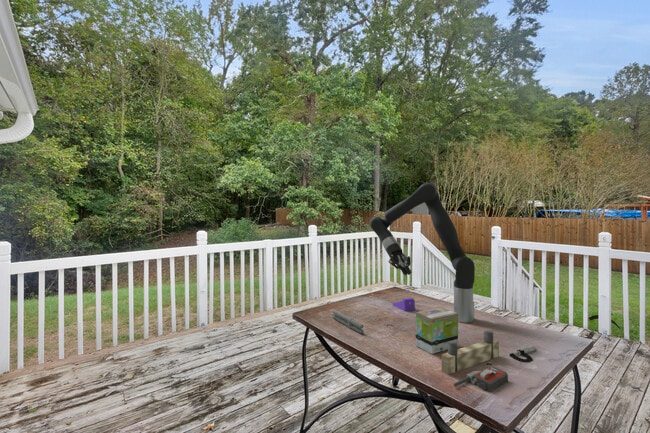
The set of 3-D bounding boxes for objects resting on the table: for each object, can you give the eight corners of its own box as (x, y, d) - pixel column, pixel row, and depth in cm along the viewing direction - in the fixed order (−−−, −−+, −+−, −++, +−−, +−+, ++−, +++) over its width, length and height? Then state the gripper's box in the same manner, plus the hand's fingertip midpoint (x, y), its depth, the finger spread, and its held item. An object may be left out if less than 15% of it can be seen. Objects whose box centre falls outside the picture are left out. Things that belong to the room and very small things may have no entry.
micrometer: (524, 365, 121) (524, 358, 121) (507, 356, 127) (507, 350, 127) (550, 357, 127) (550, 350, 127) (532, 349, 133) (532, 343, 133)
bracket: (414, 310, 186) (414, 298, 186) (404, 311, 183) (404, 299, 183) (402, 304, 197) (402, 293, 197) (392, 305, 194) (392, 294, 194)
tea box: (432, 355, 129) (432, 318, 129) (415, 345, 138) (414, 311, 138) (459, 347, 136) (458, 312, 136) (440, 338, 145) (440, 306, 145)
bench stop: (491, 353, 130) (491, 328, 130) (499, 356, 127) (499, 331, 127) (441, 370, 117) (441, 343, 117) (448, 374, 114) (448, 346, 114)
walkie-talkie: (486, 370, 117) (451, 387, 107) (486, 358, 117) (451, 374, 106) (511, 381, 110) (476, 401, 99) (511, 368, 110) (476, 387, 99)
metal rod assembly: (332, 319, 173) (332, 309, 173) (336, 318, 175) (336, 309, 174) (360, 335, 151) (359, 324, 151) (364, 334, 152) (364, 323, 152)
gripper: (384, 243, 165) (401, 271, 155) (405, 241, 171) (422, 268, 161) (378, 252, 170) (393, 280, 159) (398, 250, 176) (414, 276, 166)
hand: (408, 274), depth 160 cm, fingers closed
